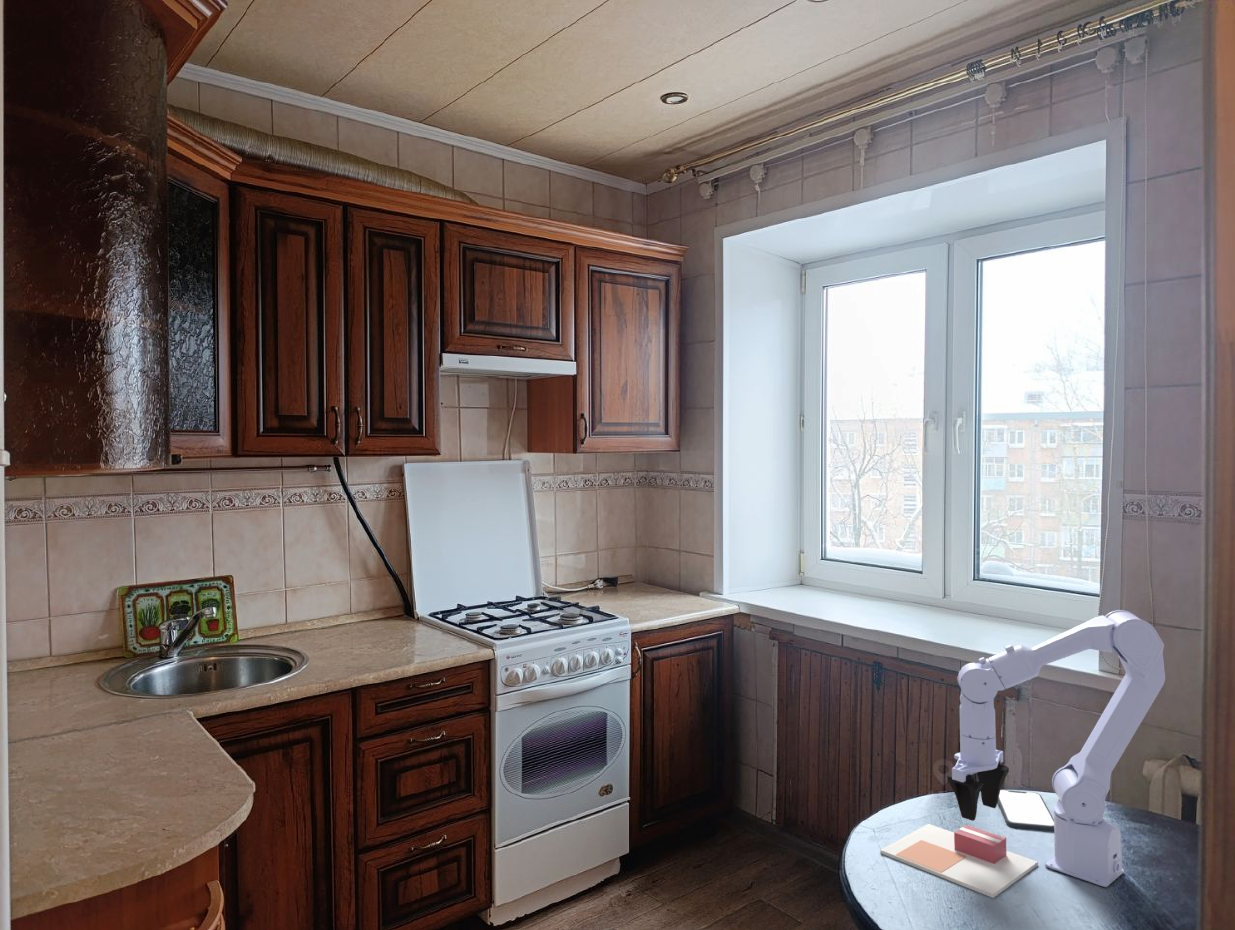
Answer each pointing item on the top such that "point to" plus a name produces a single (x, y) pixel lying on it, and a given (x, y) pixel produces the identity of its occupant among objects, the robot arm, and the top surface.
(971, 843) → the card box
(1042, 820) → the smartphone
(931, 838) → the mat
